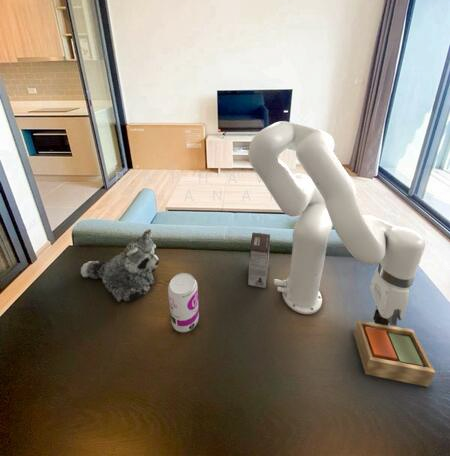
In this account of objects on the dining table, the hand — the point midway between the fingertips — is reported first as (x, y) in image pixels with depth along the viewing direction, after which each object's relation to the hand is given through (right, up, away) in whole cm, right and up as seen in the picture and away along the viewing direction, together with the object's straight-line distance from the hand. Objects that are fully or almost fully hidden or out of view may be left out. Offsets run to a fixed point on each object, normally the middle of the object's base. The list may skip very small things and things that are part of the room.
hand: (380, 322), depth 69 cm
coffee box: (-32, +3, +20) cm, 38 cm away
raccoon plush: (-81, +2, +16) cm, 83 cm away
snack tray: (-1, -6, -5) cm, 8 cm away
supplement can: (-56, -2, +5) cm, 57 cm away
